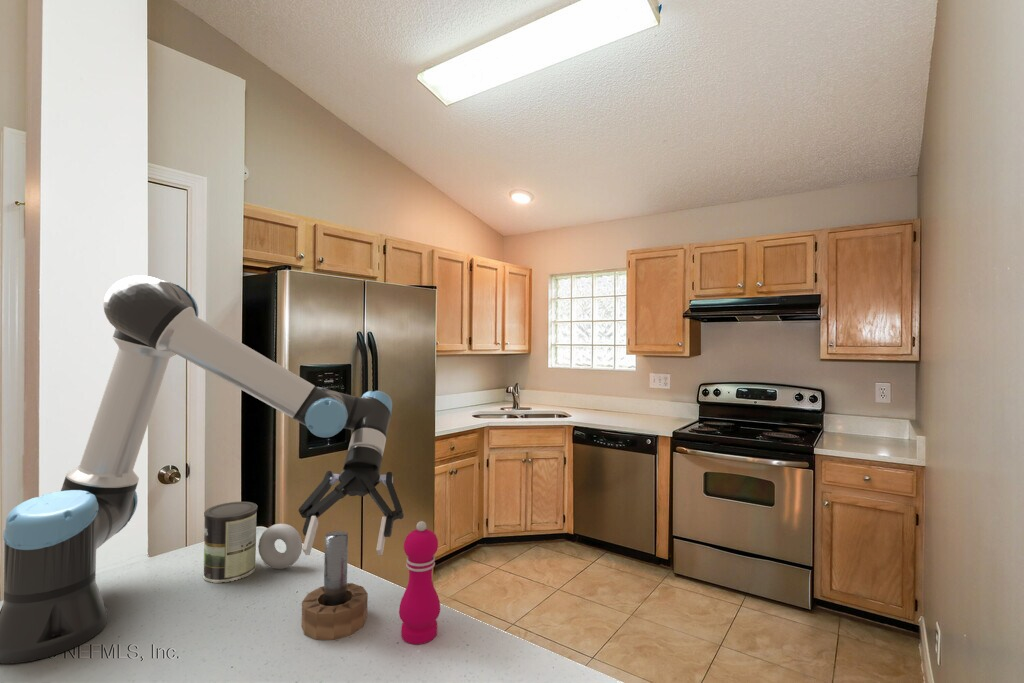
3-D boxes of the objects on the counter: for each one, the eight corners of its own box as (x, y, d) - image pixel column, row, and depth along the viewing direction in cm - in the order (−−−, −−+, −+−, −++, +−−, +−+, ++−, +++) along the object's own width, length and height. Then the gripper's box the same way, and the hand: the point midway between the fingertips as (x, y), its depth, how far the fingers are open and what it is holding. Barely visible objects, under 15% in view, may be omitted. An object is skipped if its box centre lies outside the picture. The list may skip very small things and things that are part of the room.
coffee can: (196, 586, 104) (197, 518, 104) (210, 564, 114) (211, 503, 114) (251, 580, 107) (252, 514, 107) (260, 559, 117) (261, 499, 117)
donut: (304, 566, 114) (305, 522, 114) (296, 573, 111) (297, 528, 111) (263, 563, 115) (264, 520, 115) (254, 570, 112) (255, 525, 112)
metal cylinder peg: (320, 628, 90) (321, 539, 90) (327, 615, 94) (329, 530, 94) (342, 627, 90) (344, 539, 90) (348, 615, 94) (350, 530, 94)
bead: (292, 639, 86) (293, 613, 86) (315, 606, 97) (315, 583, 97) (357, 639, 87) (357, 613, 87) (372, 606, 98) (372, 583, 98)
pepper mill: (399, 649, 84) (401, 530, 84) (397, 625, 91) (399, 516, 91) (442, 643, 86) (444, 527, 86) (437, 620, 93) (439, 513, 93)
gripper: (424, 464, 112) (411, 561, 97) (311, 462, 111) (280, 559, 96) (421, 445, 106) (407, 544, 91) (302, 443, 106) (269, 543, 91)
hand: (342, 552), depth 94 cm, fingers open, 13 cm apart
